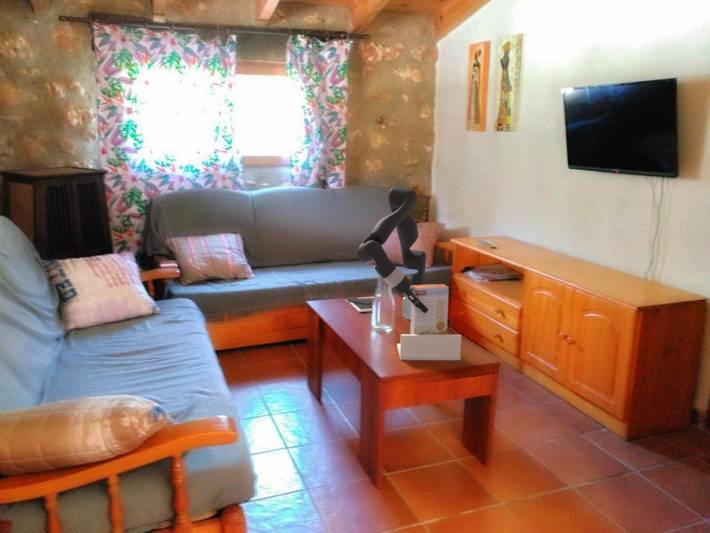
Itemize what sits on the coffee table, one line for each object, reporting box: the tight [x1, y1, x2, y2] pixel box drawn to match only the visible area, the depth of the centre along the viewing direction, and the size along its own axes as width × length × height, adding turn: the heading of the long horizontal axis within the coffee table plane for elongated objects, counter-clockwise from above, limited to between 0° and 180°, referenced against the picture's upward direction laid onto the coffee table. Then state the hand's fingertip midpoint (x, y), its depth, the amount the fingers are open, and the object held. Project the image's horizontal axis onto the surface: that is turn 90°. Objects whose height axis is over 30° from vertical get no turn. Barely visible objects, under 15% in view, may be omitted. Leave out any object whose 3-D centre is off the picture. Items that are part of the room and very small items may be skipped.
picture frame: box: [345, 296, 375, 312], centre depth 301 cm, size 16×3×21 cm
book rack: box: [396, 333, 462, 361], centre depth 239 cm, size 14×24×10 cm, turn 92°
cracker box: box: [409, 283, 450, 335], centre depth 236 cm, size 14×6×21 cm, turn 103°
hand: (425, 308), depth 235 cm, fingers closed on cracker box, 6 cm apart
